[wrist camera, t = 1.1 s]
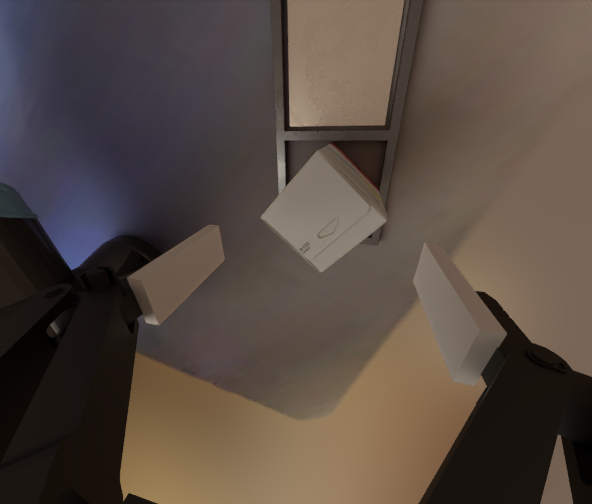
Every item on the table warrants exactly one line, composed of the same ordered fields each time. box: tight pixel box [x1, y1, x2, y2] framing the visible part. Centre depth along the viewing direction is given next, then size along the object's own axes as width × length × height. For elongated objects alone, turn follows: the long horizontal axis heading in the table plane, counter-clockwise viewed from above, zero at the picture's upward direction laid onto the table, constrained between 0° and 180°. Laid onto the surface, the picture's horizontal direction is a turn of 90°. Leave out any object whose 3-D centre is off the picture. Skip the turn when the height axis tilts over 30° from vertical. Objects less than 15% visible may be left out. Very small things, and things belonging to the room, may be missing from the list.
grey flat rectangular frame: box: [271, 0, 423, 245], centre depth 26 cm, size 14×27×1 cm, turn 0°
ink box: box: [261, 143, 388, 273], centre depth 25 cm, size 9×9×12 cm
